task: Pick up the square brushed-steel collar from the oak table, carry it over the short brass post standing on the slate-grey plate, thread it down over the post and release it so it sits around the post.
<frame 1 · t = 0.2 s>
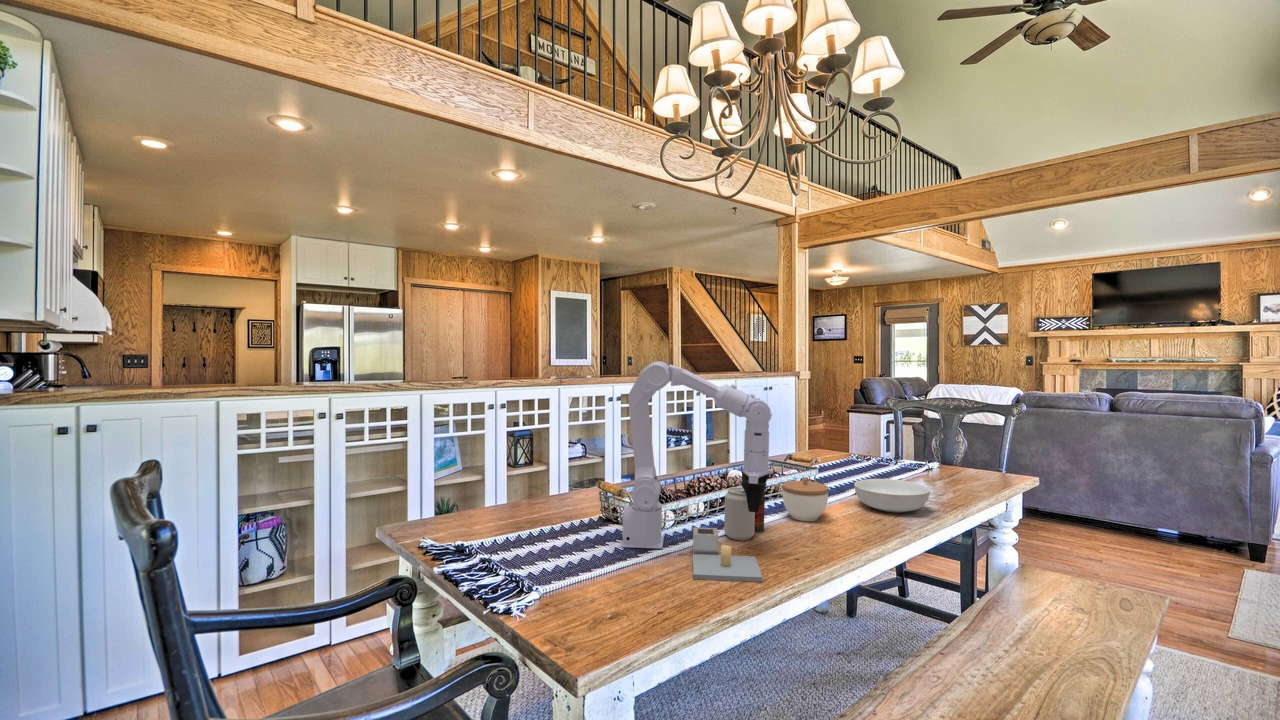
hand: (754, 507, 142), 10 cm above the table, tool pointing down, fingers open, 7 cm apart
deodorant: (752, 530, 157), on the table
lidded bowl: (804, 518, 169), on the table
serving bowl: (890, 509, 179), on the table
can: (739, 537, 151), on the table
post block: (725, 569, 128), on the table
collar: (705, 552, 139), on the table
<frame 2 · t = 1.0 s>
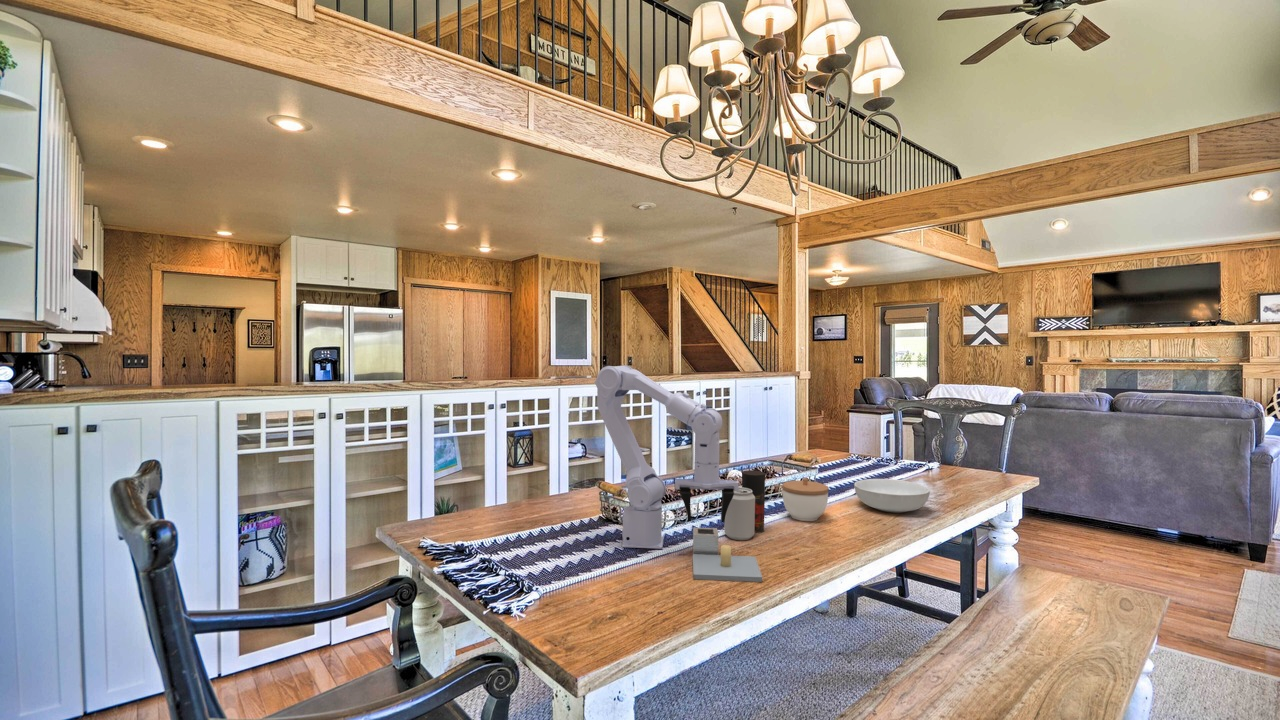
hand: (706, 520, 138), 8 cm above the table, tool pointing down, fingers open, 7 cm apart
nothing on the table moved.
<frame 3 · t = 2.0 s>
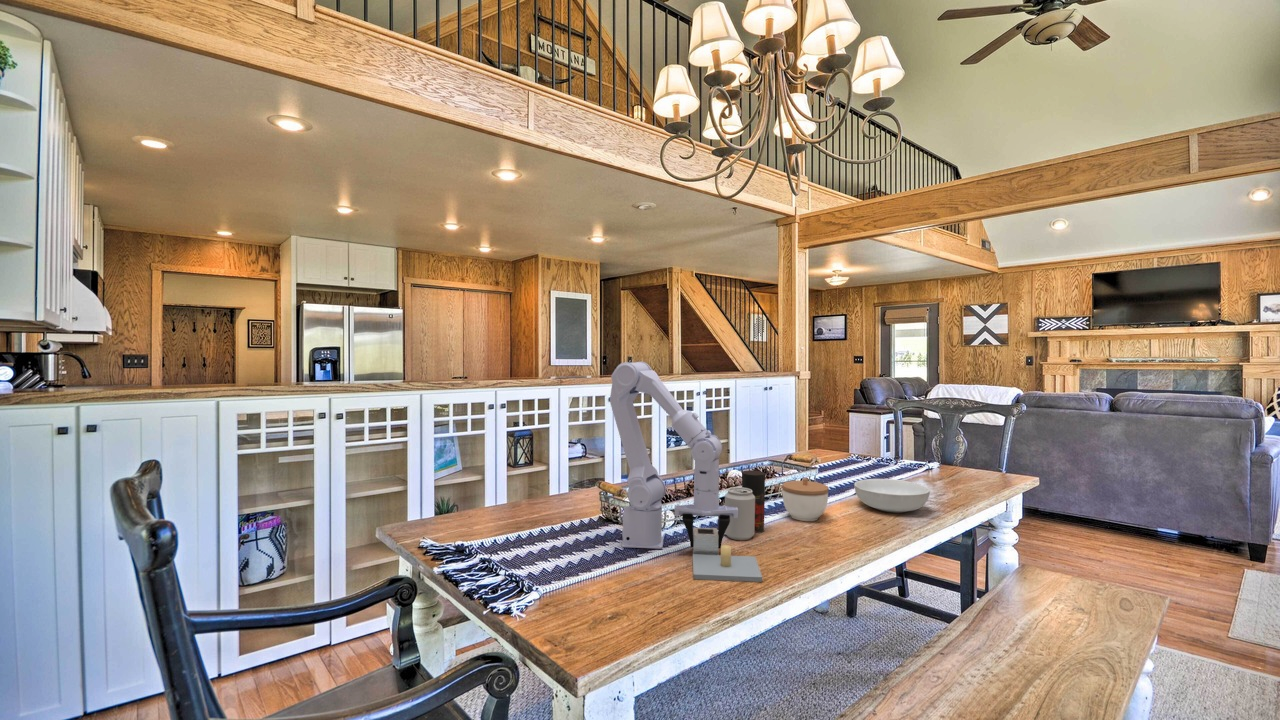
hand: (705, 546, 139), 1 cm above the table, tool pointing down, fingers closed on collar, 6 cm apart
collar: (705, 552, 139), on the table, touching gripper
everything else where it was.
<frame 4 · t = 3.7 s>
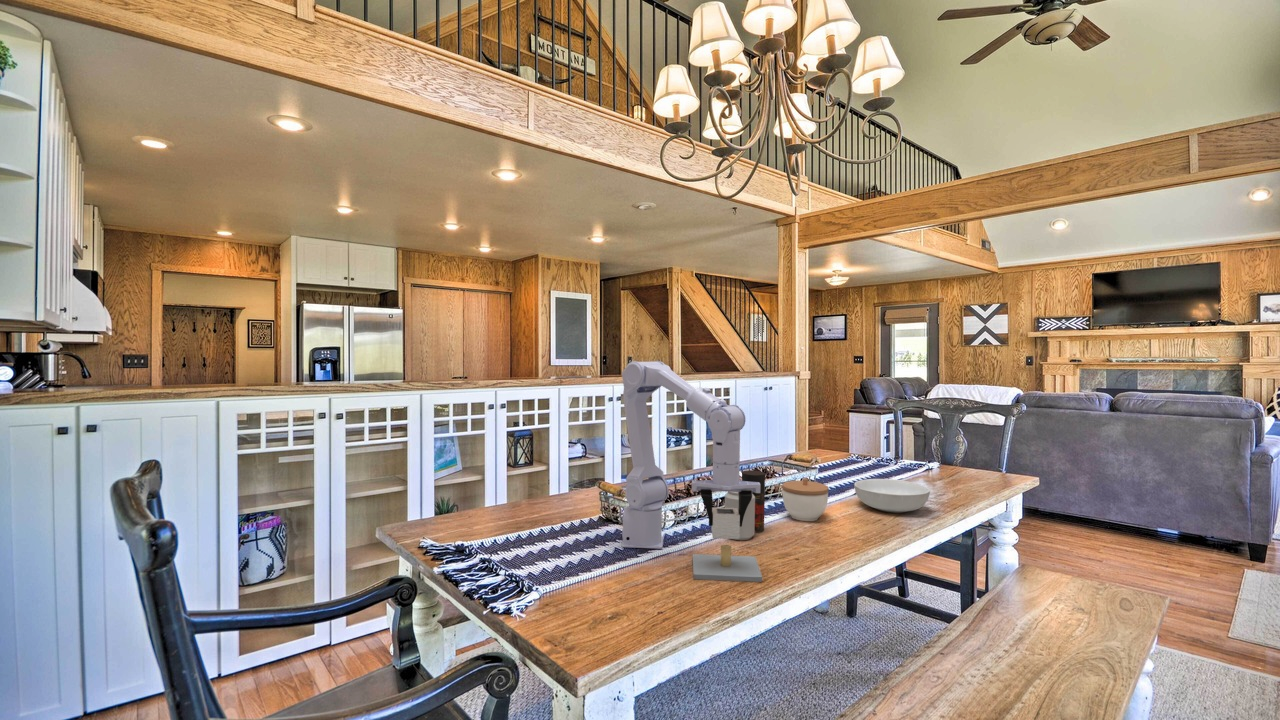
hand: (725, 524, 129), 9 cm above the table, tool pointing down, fingers closed on collar, 6 cm apart
collar: (725, 534, 129), point 7 cm above the table, touching gripper
everything else where it was.
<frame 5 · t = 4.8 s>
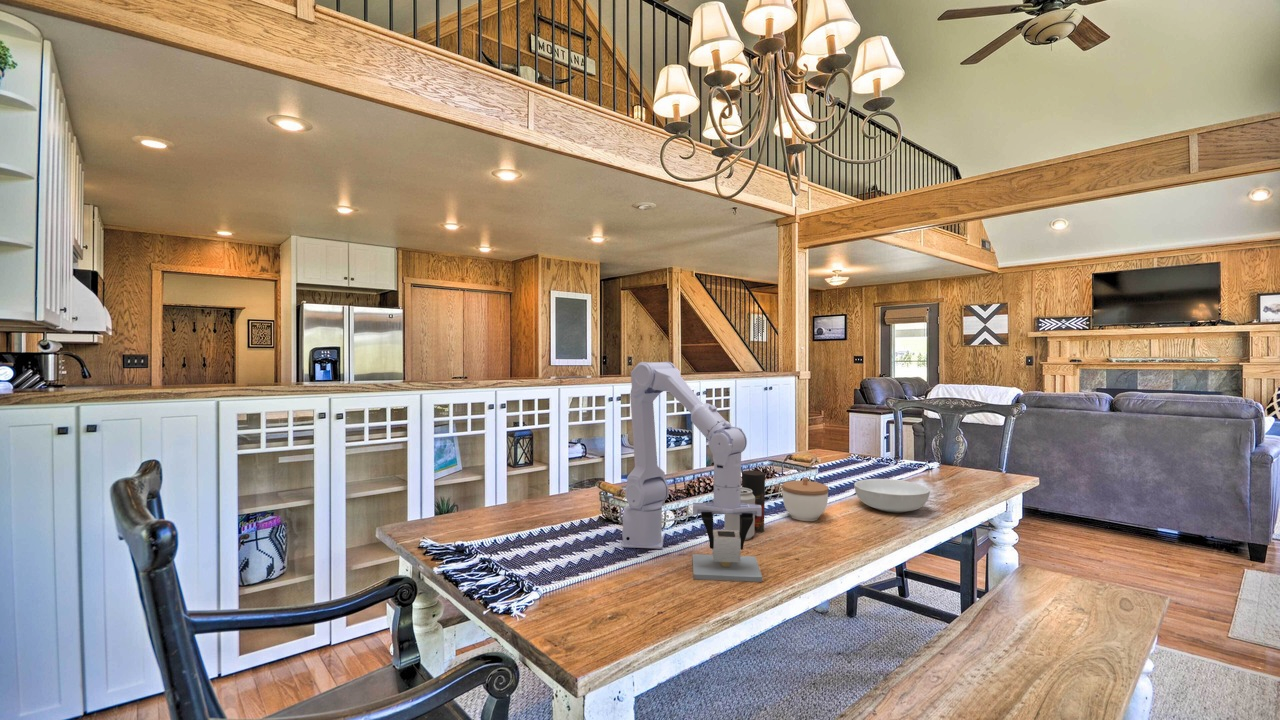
hand: (726, 547, 128), 5 cm above the table, tool pointing down, fingers closed on collar, 6 cm apart
collar: (725, 557, 129), point 3 cm above the table, touching gripper
everything else where it was.
when the fingers open (3 cm above the table, at t = 5.6 s): collar stays where it is, resting on post block.
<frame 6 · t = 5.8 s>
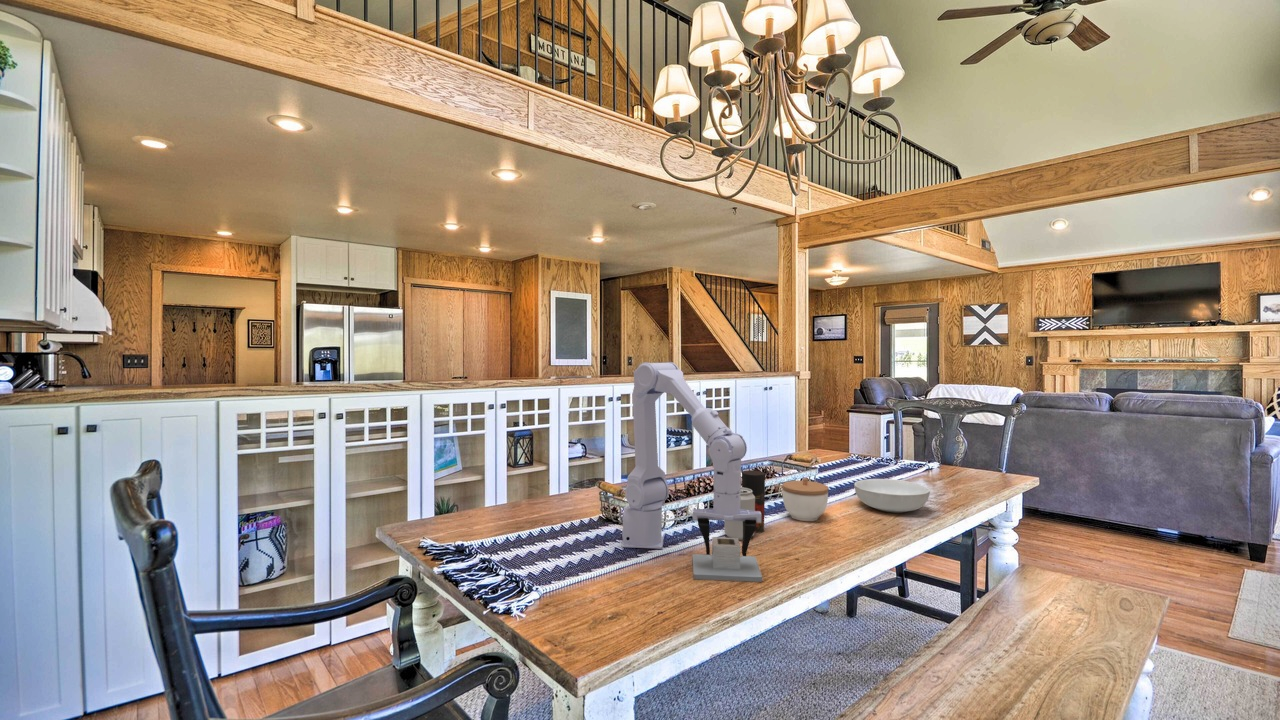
hand: (725, 553, 128), 3 cm above the table, tool pointing down, fingers open, 7 cm apart
collar: (725, 564, 129), point 1 cm above the table, touching post block
everything else where it was.
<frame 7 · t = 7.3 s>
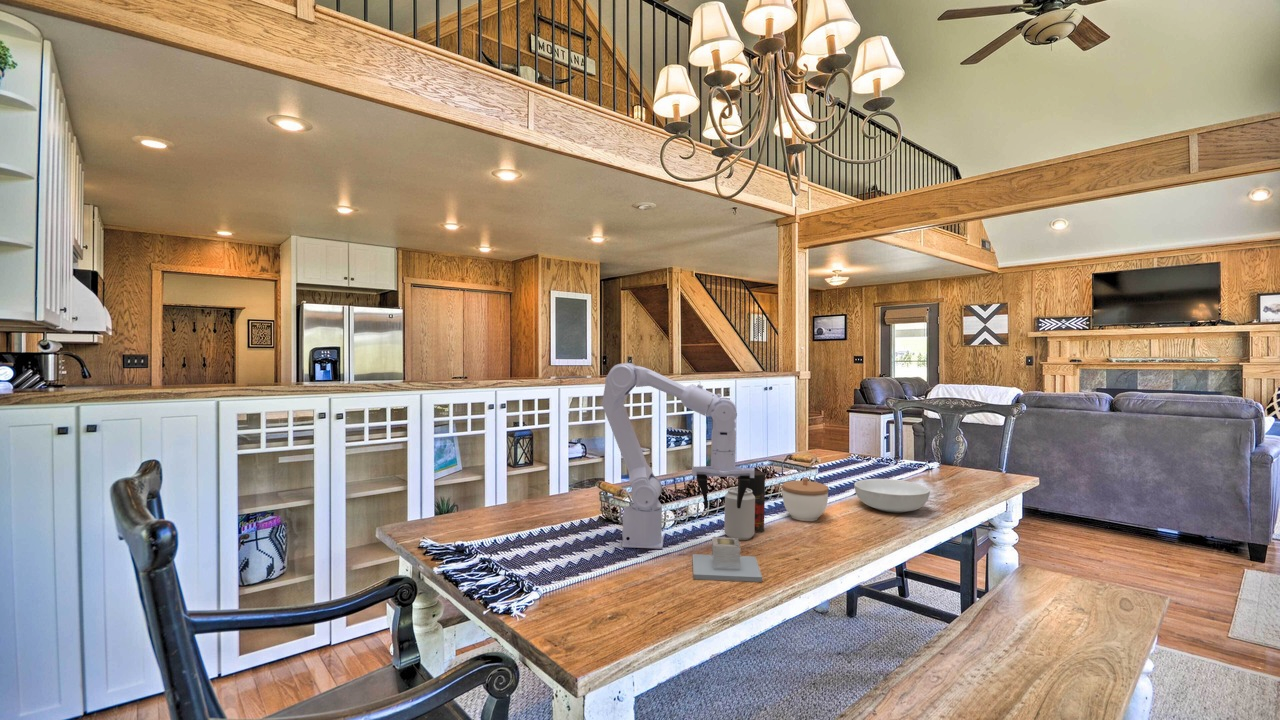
hand: (722, 506, 142), 10 cm above the table, tool pointing down, fingers open, 7 cm apart
nothing on the table moved.
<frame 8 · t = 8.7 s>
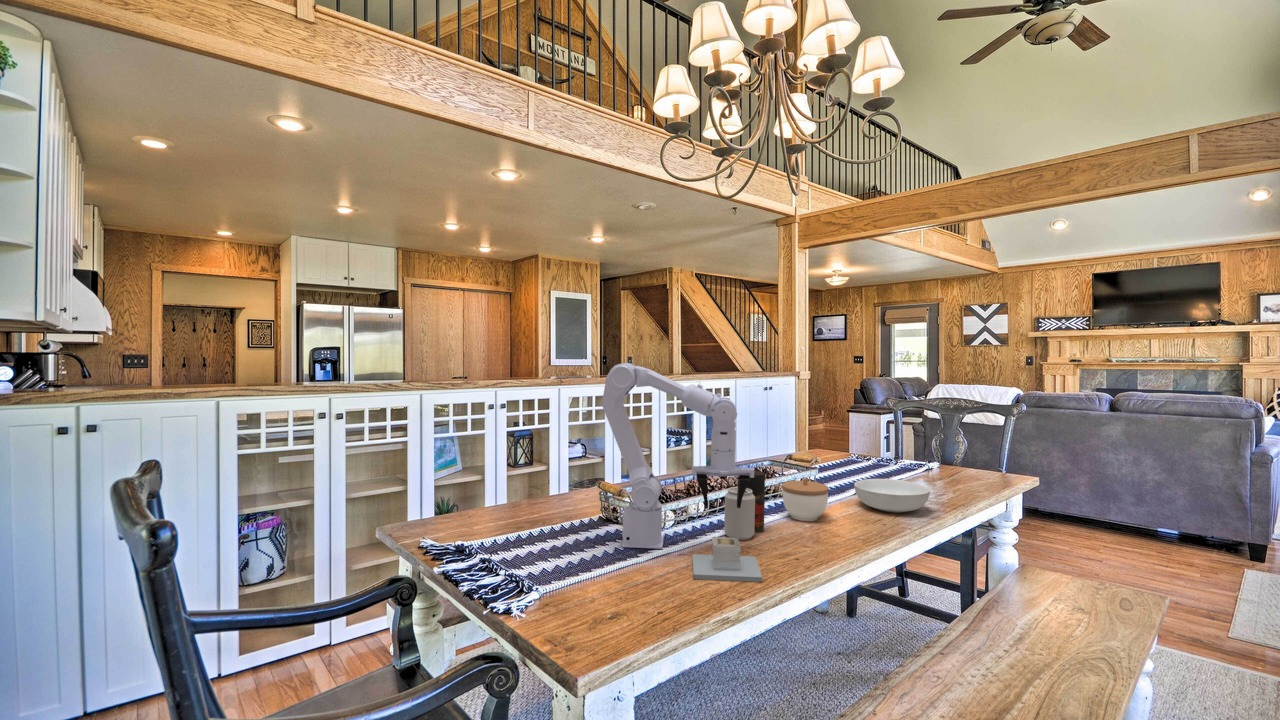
hand: (722, 506, 142), 10 cm above the table, tool pointing down, fingers open, 7 cm apart
nothing on the table moved.
at the end: collar 0.2 cm off-centre on the post block, point 1.0 cm above the post block's base; the gripper is holding nothing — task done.
